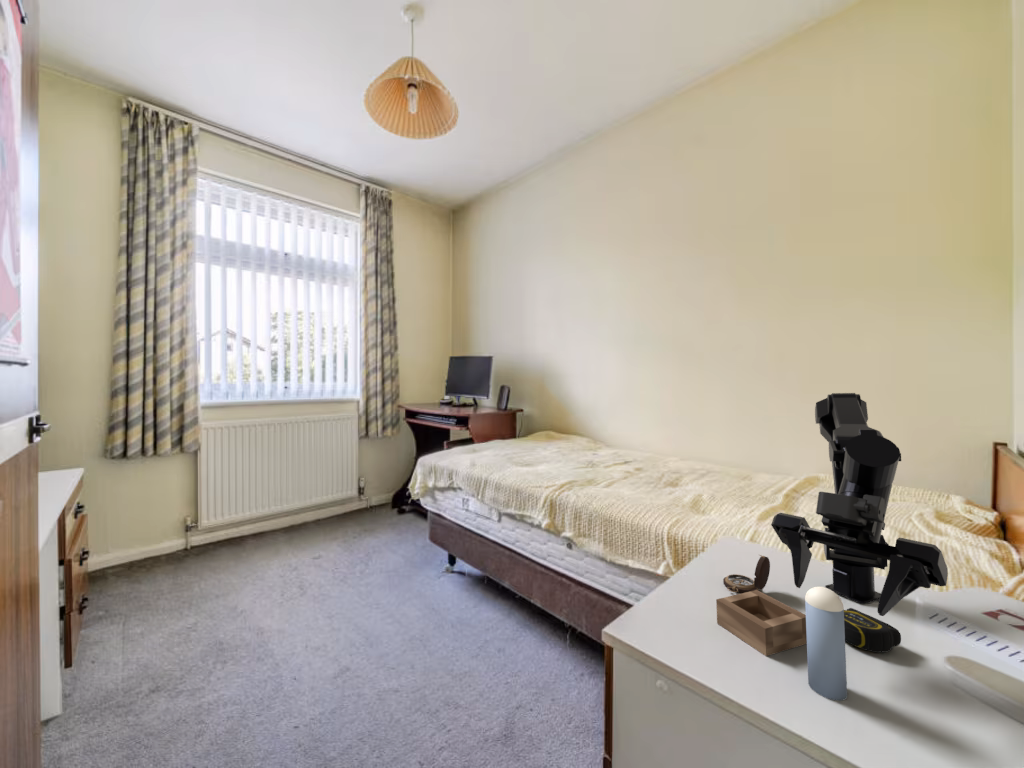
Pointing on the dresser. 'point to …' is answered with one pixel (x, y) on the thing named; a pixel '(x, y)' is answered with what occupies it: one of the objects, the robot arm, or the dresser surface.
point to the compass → (747, 584)
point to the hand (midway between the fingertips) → (835, 599)
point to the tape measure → (869, 632)
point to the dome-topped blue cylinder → (826, 643)
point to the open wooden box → (762, 622)
